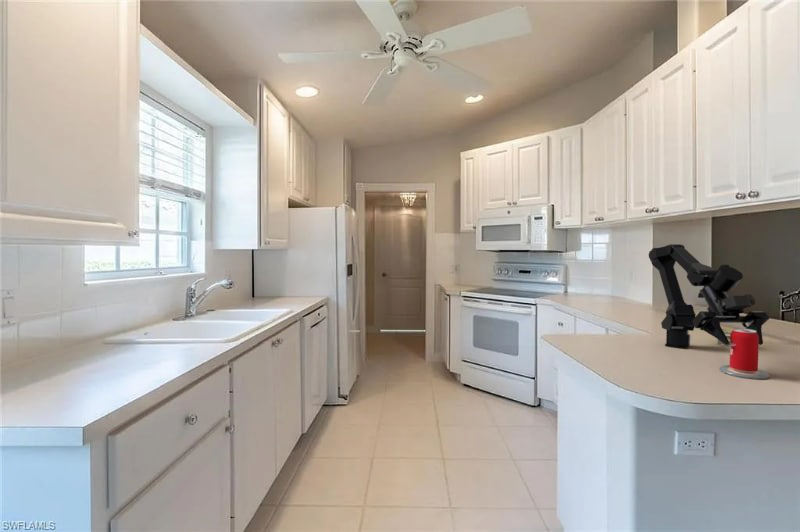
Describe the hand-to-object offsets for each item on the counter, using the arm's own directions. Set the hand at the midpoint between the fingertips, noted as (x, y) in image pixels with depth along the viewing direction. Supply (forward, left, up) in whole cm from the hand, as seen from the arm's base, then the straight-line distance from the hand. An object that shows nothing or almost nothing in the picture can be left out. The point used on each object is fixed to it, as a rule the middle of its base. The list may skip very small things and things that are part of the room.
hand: (744, 344), depth 113 cm
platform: (-7, +37, -9) cm, 38 cm away
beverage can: (0, 0, -8) cm, 8 cm away
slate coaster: (0, 0, -9) cm, 9 cm away
